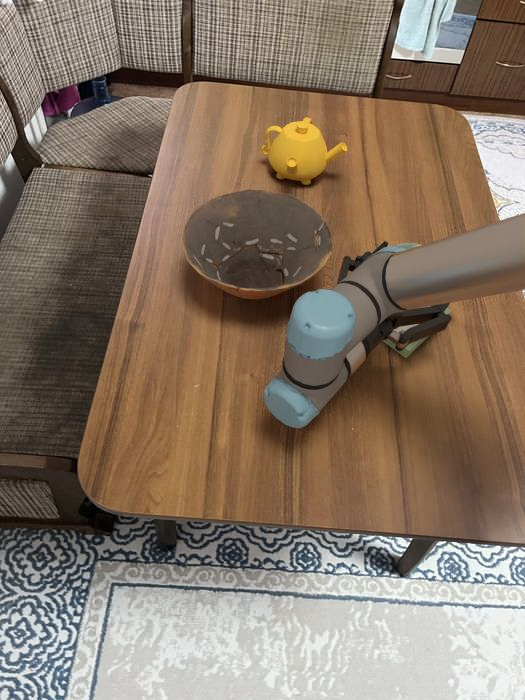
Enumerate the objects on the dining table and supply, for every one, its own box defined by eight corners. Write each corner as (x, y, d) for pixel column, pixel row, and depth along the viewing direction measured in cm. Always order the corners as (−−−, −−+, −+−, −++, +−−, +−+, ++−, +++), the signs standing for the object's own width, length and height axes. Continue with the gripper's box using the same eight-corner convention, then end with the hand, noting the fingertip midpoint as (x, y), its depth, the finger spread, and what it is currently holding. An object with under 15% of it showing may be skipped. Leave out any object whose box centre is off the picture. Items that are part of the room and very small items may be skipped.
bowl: (307, 227, 106) (315, 185, 98) (337, 323, 91) (348, 283, 83) (180, 234, 102) (176, 191, 94) (189, 335, 88) (187, 294, 80)
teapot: (285, 200, 110) (292, 152, 101) (253, 163, 117) (256, 115, 108) (342, 182, 115) (353, 135, 106) (308, 148, 122) (315, 101, 113)
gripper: (278, 315, 85) (352, 248, 96) (410, 403, 77) (475, 319, 87) (282, 283, 79) (361, 214, 89) (426, 375, 71) (494, 287, 81)
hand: (417, 266), depth 88 cm, fingers open, 12 cm apart
